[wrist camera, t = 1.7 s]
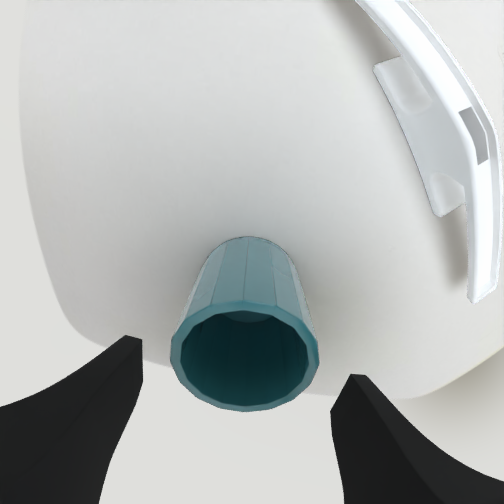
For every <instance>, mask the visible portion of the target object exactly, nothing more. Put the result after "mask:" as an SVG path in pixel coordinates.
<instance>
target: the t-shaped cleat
mask: <svg viewBox="0 0 504 504" xmlns="http://www.w3.org/2000/svg"><path fill="white" fill-rule="evenodd" d="M355 1H356V2H357V3H358V4H359V5H360V6H361V8H362V9H363V10H364V11H365V12H366V13H367V14H368V15H369V16H370V17H371V18H372V20H373V21H374V22H375V23H376V24H377V25H378V26H379V28H380V29H381V30H382V31H383V32H384V33H385V35H386V36H387V37H388V38H389V40H390V41H391V42H392V43H393V45H394V46H395V47H396V48H397V50H398V51H399V52H400V54H401V55H402V56H399V57H396V58H393V59H390V60H387V61H384V62H381V63H379V64H376V65H375V66H374V67H373V72H374V74H375V75H376V77H377V79H378V81H379V83H380V85H381V87H382V88H383V90H384V92H385V94H386V96H387V98H388V100H389V102H390V104H391V106H392V108H393V110H394V112H395V115H396V117H397V119H398V121H399V123H400V125H401V128H402V130H403V132H404V134H405V137H406V139H407V141H408V144H409V146H410V149H411V151H412V154H413V156H414V159H415V161H416V164H417V166H418V169H419V172H420V175H421V177H422V180H423V183H424V186H425V189H426V192H427V195H428V198H429V201H430V204H431V207H432V211H433V213H434V214H435V215H437V216H439V217H442V216H444V215H446V214H448V213H449V212H451V211H452V210H454V209H456V208H457V207H459V206H461V205H462V204H464V203H466V216H467V234H468V284H467V298H468V299H469V300H470V302H471V303H472V304H475V303H477V302H478V301H480V300H481V299H482V298H484V297H485V296H486V295H488V294H489V293H490V292H492V291H493V290H494V289H496V288H497V283H498V275H499V267H500V257H501V246H502V229H503V180H502V163H501V152H500V143H499V138H498V135H497V132H496V128H495V125H494V122H493V120H492V118H491V116H490V114H489V112H488V110H487V108H486V106H485V105H484V103H483V101H482V99H481V97H480V96H479V94H478V92H477V91H476V89H475V87H474V86H473V84H472V82H471V81H470V79H469V78H468V76H467V75H466V73H465V71H464V70H463V68H462V67H461V65H460V64H459V63H458V61H457V60H456V58H455V57H454V55H453V54H452V53H451V51H450V50H449V48H448V47H447V46H446V44H445V43H444V42H443V41H442V39H441V38H440V37H439V35H438V34H437V33H436V32H435V30H434V29H433V28H432V27H431V26H430V24H429V23H428V22H427V21H426V20H425V18H424V17H423V16H422V15H421V14H420V13H419V12H418V10H417V9H416V8H415V7H414V6H413V5H412V4H411V3H410V2H409V1H408V0H355Z"/></svg>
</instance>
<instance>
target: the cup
mask: <svg viewBox="0 0 504 504" xmlns="http://www.w3.org/2000/svg"><path fill="white" fill-rule="evenodd" d="M170 361H171V364H172V367H173V369H174V371H175V373H176V375H177V378H178V380H179V381H180V383H181V384H183V386H185V387H186V388H187V389H188V390H189V391H190V392H191V393H192V394H193V395H194V396H195V397H197V398H198V399H201V400H203V401H205V402H207V403H209V404H211V405H213V406H216V407H218V408H221V409H227V410H233V411H241V412H252V411H261V410H269V409H272V408H275V407H277V406H280V405H282V404H284V403H287V402H289V401H291V400H293V399H295V397H297V396H298V395H299V394H300V393H301V392H302V391H304V390H305V389H306V388H307V387H308V386H309V385H310V384H311V382H312V380H313V377H314V375H315V373H316V371H317V368H318V366H319V353H318V342H317V339H316V335H315V332H314V328H313V325H312V321H311V318H310V314H309V311H308V307H307V304H306V300H305V297H304V293H303V290H302V287H301V283H300V280H299V277H298V273H297V270H296V268H295V267H294V264H293V262H292V260H291V259H290V257H289V256H288V255H287V253H286V252H285V251H284V250H283V249H281V248H280V247H279V246H278V245H276V244H274V243H272V242H270V241H268V240H265V239H262V238H257V237H239V238H235V239H232V240H229V241H226V242H225V243H223V244H221V245H220V246H218V247H217V248H216V249H215V250H214V251H213V252H212V253H211V254H210V255H209V256H208V258H207V259H206V261H205V263H204V265H203V266H202V268H201V270H200V273H199V275H198V277H197V280H196V282H195V284H194V287H193V289H192V291H191V294H190V296H189V298H188V301H187V303H186V305H185V308H184V310H183V313H182V315H181V317H180V320H179V322H178V325H177V327H176V329H175V332H174V334H173V337H172V340H171V353H170Z"/></svg>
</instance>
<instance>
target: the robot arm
mask: <svg viewBox="0 0 504 504" xmlns="http://www.w3.org/2000/svg"><path fill="white" fill-rule="evenodd" d="M142 383H143V360H142V339H139V338H135V337H131V336H128V335H125V336H123V337H122V338H120V339H119V340H118V341H117V342H115V343H114V344H113V345H111V346H110V347H109V348H107V349H106V350H105V351H103V352H102V353H101V354H100V355H98V356H97V357H95V358H94V359H92V360H91V361H90V362H89V363H87V364H85V365H84V366H83V367H81V368H80V369H78V370H77V371H75V372H73V373H72V374H70V375H69V376H67V377H66V378H64V379H62V380H61V381H59V382H57V383H55V384H54V385H52V386H50V387H48V388H46V389H45V390H42V391H40V392H38V393H36V394H34V395H31V396H29V397H27V398H24V399H22V400H19V401H16V402H14V403H11V404H8V405H5V406H1V407H0V504H99V500H100V496H101V492H102V488H103V484H104V481H105V477H106V474H107V470H108V467H109V463H110V461H111V458H112V455H113V453H114V451H115V449H116V446H117V444H118V442H119V440H120V438H121V435H122V433H123V431H124V429H125V427H126V424H127V422H128V420H129V418H130V416H131V414H132V412H133V409H134V407H135V405H136V402H137V399H138V396H139V392H140V390H141V386H142ZM330 414H331V428H332V437H333V442H334V447H335V452H336V456H337V461H338V466H339V470H340V475H341V480H342V485H343V492H344V504H504V481H500V480H498V479H495V478H492V477H489V476H487V475H484V474H482V473H480V472H478V471H476V470H474V469H472V468H470V467H468V466H466V465H464V464H462V463H461V462H459V461H458V460H456V459H454V458H453V457H451V456H450V455H448V454H447V453H445V452H444V451H443V450H441V449H440V448H438V447H437V446H436V445H435V444H434V443H432V442H431V441H430V440H429V439H427V438H426V437H425V436H424V435H423V434H422V433H420V431H418V430H417V429H416V428H415V427H414V426H413V425H412V424H411V423H410V422H409V421H408V420H407V419H406V418H405V417H404V416H403V415H402V414H401V413H400V412H399V411H398V410H397V409H396V407H395V406H394V405H393V404H392V403H391V402H390V401H389V400H388V399H387V397H386V396H385V395H384V394H383V393H382V392H381V391H380V390H379V389H378V388H377V386H376V385H375V384H374V383H373V382H372V381H371V380H370V379H369V378H368V377H367V376H366V375H358V374H350V376H349V378H348V380H347V382H346V384H345V385H344V387H343V389H342V391H341V393H340V395H339V396H338V398H337V400H336V402H335V404H334V405H333V407H332V409H331V411H330Z"/></svg>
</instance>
